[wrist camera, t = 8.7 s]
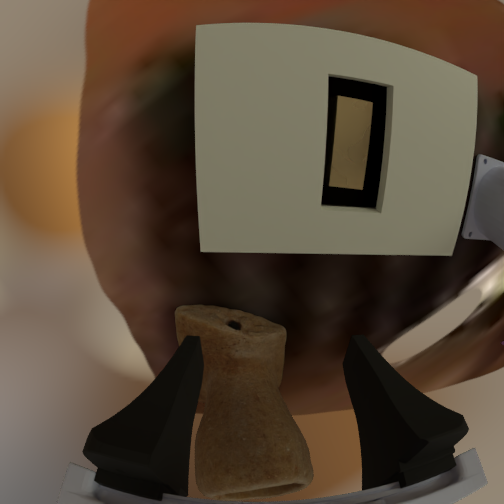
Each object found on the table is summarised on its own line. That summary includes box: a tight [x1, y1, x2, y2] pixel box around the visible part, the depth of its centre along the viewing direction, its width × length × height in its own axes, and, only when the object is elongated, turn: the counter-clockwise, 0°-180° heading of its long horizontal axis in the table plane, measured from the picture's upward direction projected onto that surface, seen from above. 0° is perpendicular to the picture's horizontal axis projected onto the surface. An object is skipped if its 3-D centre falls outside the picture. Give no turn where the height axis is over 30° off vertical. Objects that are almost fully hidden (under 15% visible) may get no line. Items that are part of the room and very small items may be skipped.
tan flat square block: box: [323, 96, 373, 190], centre depth 16 cm, size 2×5×5 cm, turn 177°
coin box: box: [195, 23, 477, 256], centre depth 15 cm, size 16×12×6 cm
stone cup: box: [175, 304, 313, 501], centre depth 21 cm, size 15×12×15 cm
